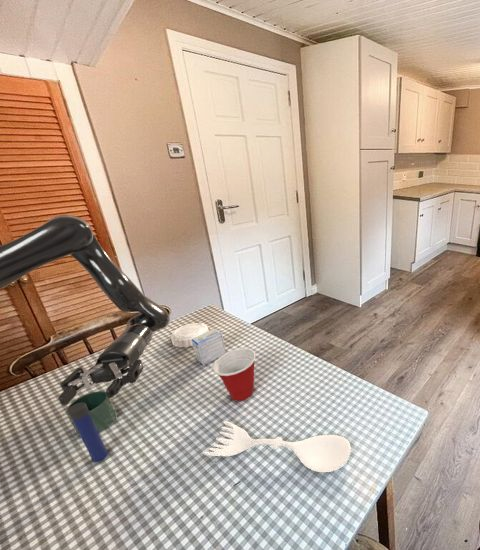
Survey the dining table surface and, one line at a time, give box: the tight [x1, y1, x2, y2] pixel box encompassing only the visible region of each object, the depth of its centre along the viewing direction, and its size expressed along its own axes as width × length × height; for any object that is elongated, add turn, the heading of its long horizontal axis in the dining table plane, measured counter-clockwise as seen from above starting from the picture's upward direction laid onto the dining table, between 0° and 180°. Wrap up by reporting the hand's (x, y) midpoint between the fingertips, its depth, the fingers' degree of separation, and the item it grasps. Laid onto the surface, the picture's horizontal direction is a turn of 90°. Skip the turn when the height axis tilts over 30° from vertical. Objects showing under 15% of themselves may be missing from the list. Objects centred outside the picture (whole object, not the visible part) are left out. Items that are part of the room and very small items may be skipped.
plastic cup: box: [212, 347, 257, 402], centre depth 83 cm, size 11×11×12 cm
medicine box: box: [192, 328, 227, 366], centre depth 99 cm, size 8×4×9 cm, turn 144°
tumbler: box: [65, 390, 118, 437], centre depth 75 cm, size 8×8×7 cm
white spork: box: [201, 420, 352, 473], centre depth 68 cm, size 9×32×4 cm, turn 83°
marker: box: [68, 402, 109, 463], centre depth 65 cm, size 3×3×15 cm
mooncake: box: [169, 322, 210, 349], centre depth 110 cm, size 12×12×4 cm
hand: (85, 398), depth 65 cm, fingers open, 8 cm apart
